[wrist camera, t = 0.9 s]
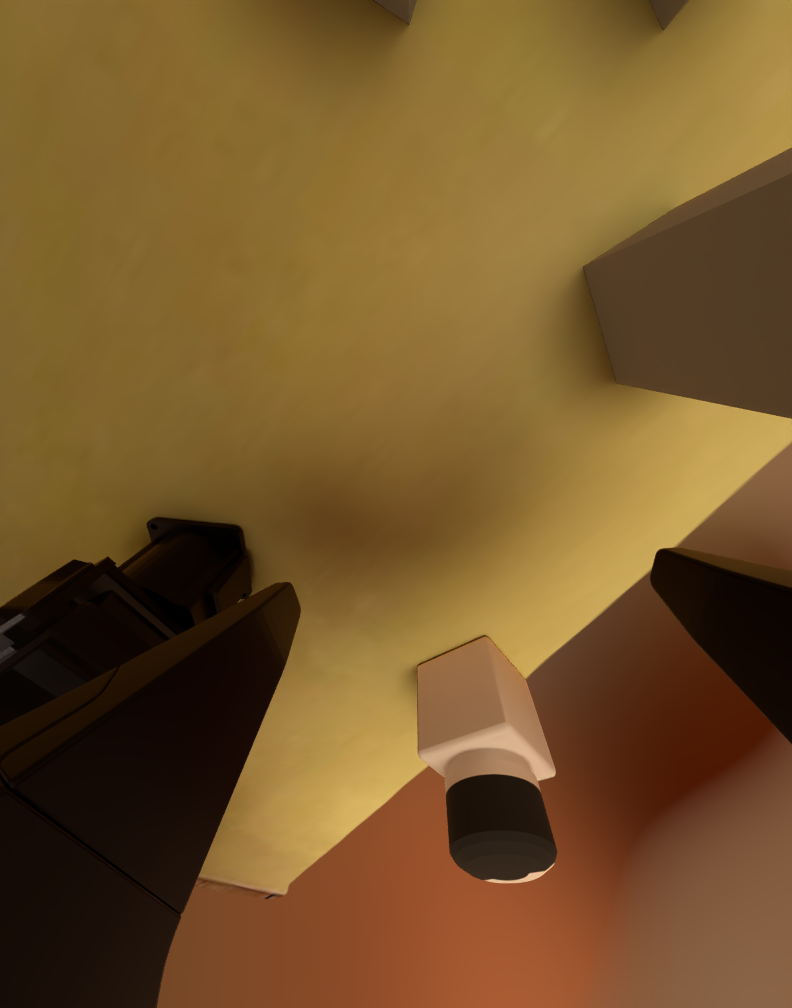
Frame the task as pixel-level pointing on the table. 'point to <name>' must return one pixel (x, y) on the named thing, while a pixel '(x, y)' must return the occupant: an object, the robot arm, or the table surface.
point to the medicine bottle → (487, 762)
